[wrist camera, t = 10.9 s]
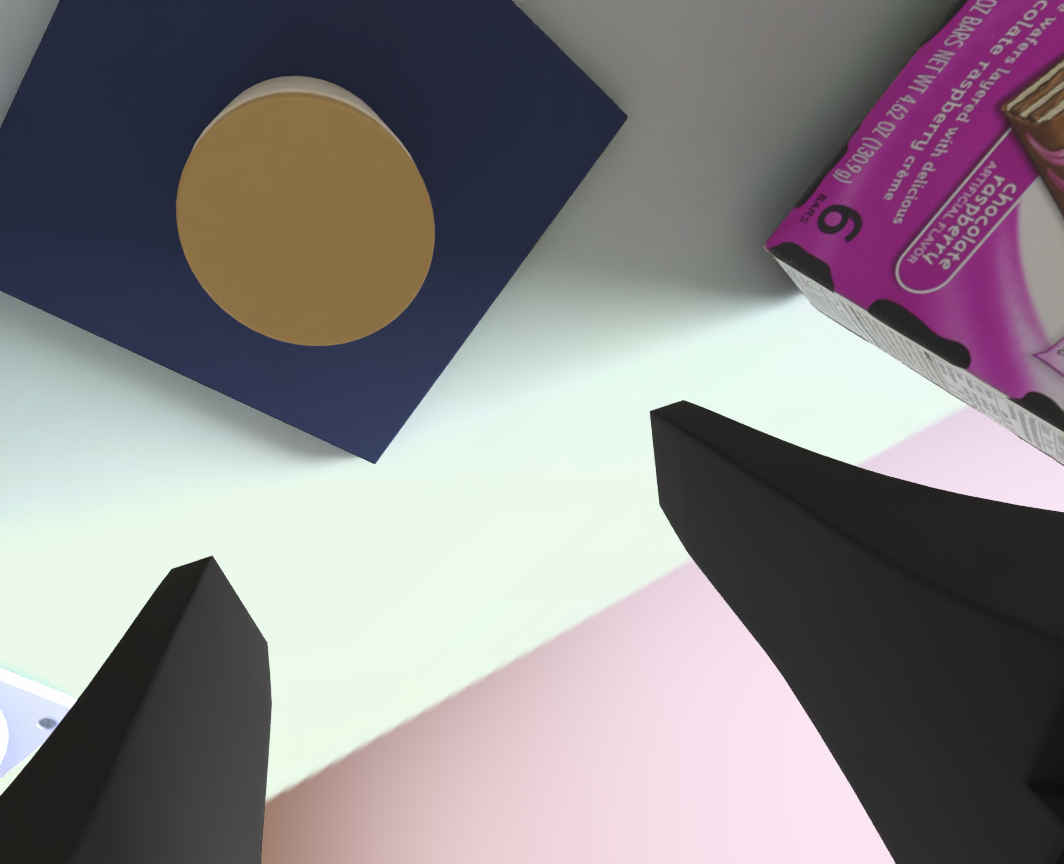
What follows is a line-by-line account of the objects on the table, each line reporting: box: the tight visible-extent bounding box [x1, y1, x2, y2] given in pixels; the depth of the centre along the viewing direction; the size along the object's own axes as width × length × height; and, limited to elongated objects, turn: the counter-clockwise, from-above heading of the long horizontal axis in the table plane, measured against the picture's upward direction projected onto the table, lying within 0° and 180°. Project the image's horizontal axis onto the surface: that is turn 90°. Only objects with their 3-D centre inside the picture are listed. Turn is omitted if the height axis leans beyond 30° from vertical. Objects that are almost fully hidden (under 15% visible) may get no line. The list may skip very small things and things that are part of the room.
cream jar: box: [176, 76, 435, 346], centre depth 14 cm, size 4×4×5 cm
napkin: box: [0, 0, 628, 464], centre depth 16 cm, size 12×11×1 cm
